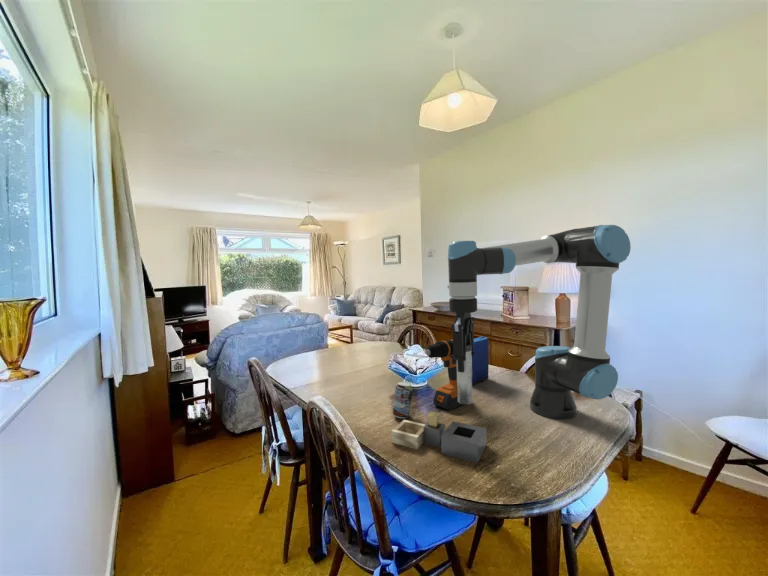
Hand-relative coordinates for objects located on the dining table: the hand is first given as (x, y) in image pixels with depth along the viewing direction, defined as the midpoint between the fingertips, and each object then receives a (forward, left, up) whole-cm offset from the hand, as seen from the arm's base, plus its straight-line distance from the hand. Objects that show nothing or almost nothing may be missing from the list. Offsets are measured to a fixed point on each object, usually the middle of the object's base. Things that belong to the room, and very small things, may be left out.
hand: (464, 379), depth 96 cm
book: (+12, -60, -21) cm, 65 cm away
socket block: (+4, 0, -21) cm, 21 cm away
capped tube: (0, 0, -6) cm, 6 cm away
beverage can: (+26, -13, -21) cm, 36 cm away
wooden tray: (+16, +2, -21) cm, 27 cm away
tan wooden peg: (+9, 0, -19) cm, 21 cm away
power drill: (+15, -29, -21) cm, 39 cm away
